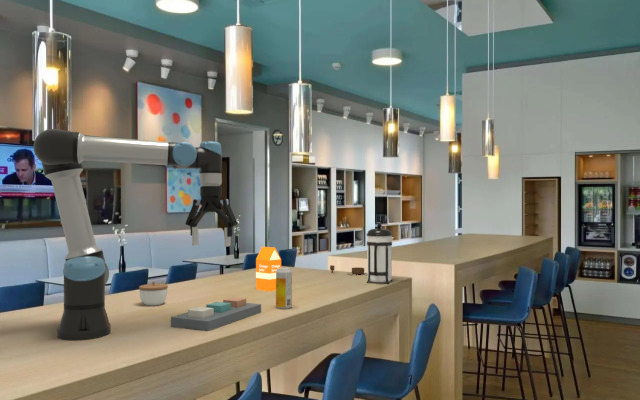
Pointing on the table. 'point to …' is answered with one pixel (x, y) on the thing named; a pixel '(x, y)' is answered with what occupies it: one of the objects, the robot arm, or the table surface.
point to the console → (215, 318)
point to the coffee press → (379, 255)
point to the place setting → (354, 270)
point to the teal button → (219, 306)
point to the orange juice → (267, 268)
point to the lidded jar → (153, 294)
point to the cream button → (200, 312)
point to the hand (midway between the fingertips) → (211, 245)
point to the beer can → (283, 288)
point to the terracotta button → (236, 302)
